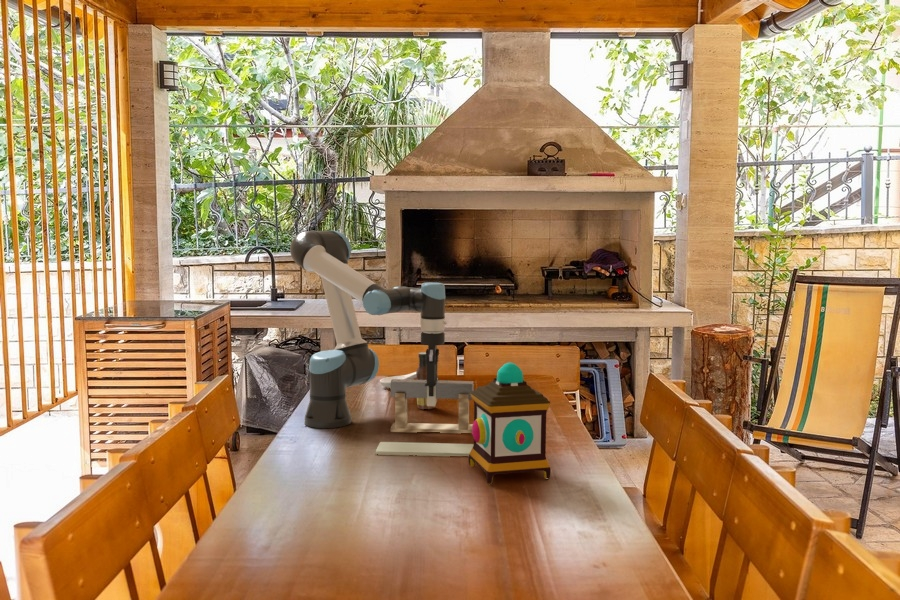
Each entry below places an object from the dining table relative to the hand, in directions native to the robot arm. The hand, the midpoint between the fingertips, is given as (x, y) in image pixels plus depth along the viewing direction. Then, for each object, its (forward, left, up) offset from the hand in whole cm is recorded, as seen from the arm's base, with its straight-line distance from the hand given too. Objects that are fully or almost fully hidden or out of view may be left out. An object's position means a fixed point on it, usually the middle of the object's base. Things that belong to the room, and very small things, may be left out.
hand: (431, 404), depth 270 cm
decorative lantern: (+24, -43, -9) cm, 50 cm away
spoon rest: (-14, +64, -9) cm, 66 cm away
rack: (0, 0, -8) cm, 8 cm away
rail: (0, 0, +2) cm, 2 cm away
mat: (0, -24, -8) cm, 26 cm away
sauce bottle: (-5, +30, -9) cm, 31 cm away
